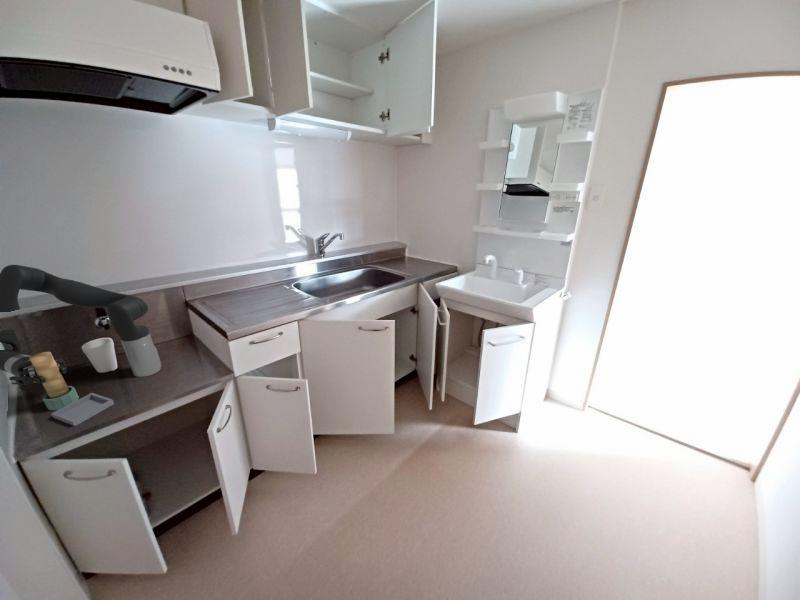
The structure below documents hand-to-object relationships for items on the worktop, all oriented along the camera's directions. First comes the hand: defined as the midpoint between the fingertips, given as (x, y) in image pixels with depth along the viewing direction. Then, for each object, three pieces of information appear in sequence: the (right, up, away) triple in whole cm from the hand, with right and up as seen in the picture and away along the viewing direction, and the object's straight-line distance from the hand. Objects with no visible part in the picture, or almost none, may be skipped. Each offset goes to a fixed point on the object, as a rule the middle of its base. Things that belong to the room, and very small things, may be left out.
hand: (54, 375), depth 107 cm
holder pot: (-3, -12, +6) cm, 13 cm away
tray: (+9, -13, +2) cm, 16 cm away
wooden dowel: (-2, -9, +5) cm, 11 cm away
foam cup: (-6, -4, +26) cm, 27 cm away
